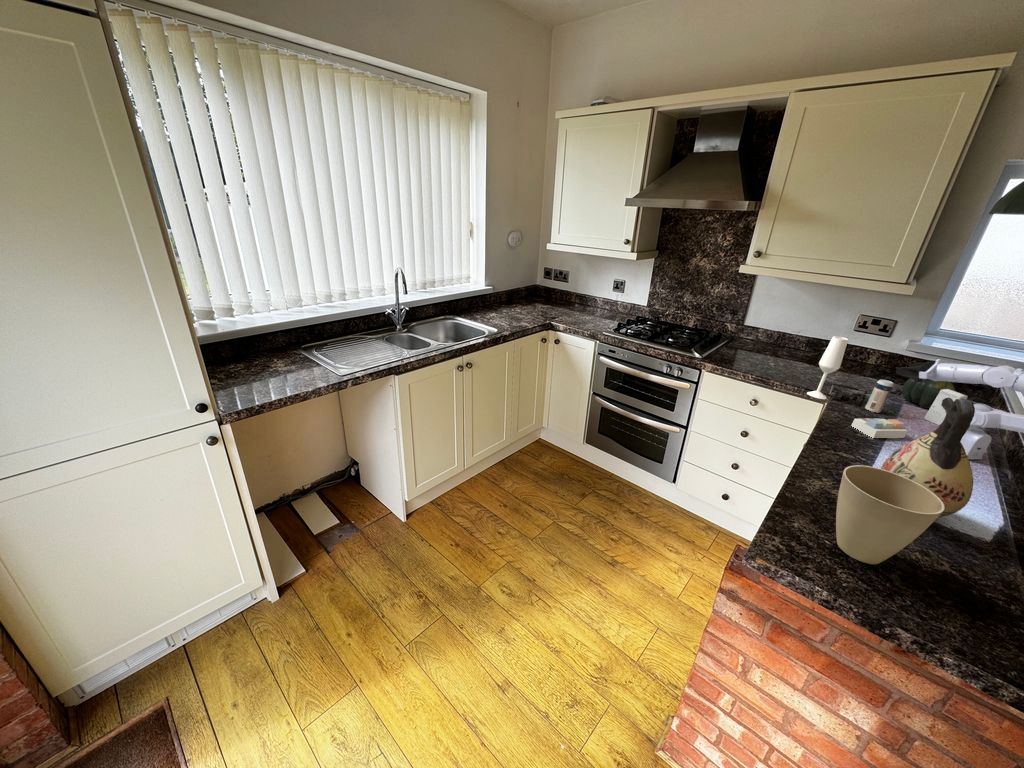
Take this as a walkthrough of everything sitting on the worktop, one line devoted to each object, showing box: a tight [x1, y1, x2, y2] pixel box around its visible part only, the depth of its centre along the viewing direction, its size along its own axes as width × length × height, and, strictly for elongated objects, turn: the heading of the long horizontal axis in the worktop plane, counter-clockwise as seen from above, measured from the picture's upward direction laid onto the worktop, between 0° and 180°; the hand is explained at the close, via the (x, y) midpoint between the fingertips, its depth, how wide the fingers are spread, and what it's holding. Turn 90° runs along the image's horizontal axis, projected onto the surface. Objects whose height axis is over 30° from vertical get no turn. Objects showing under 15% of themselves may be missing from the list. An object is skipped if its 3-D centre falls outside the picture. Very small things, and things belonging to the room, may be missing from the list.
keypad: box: [850, 417, 909, 439], centre depth 137 cm, size 8×12×4 cm, turn 98°
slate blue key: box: [865, 419, 884, 429], centre depth 135 cm, size 3×3×2 cm
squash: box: [901, 378, 957, 409], centre depth 163 cm, size 14×15×15 cm
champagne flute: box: [806, 335, 849, 400], centre depth 160 cm, size 7×7×24 cm
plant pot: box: [835, 464, 945, 565], centre depth 82 cm, size 15×15×16 cm
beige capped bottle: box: [864, 378, 894, 414], centre depth 152 cm, size 5×5×12 cm
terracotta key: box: [887, 418, 905, 429], centre depth 136 cm, size 3×3×2 cm
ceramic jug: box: [879, 397, 975, 523], centre depth 93 cm, size 17×15×30 cm
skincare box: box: [923, 389, 968, 426], centre depth 147 cm, size 6×4×12 cm
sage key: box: [878, 418, 894, 429], centre depth 135 cm, size 3×3×2 cm
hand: (903, 369), depth 140 cm, fingers open, 7 cm apart
